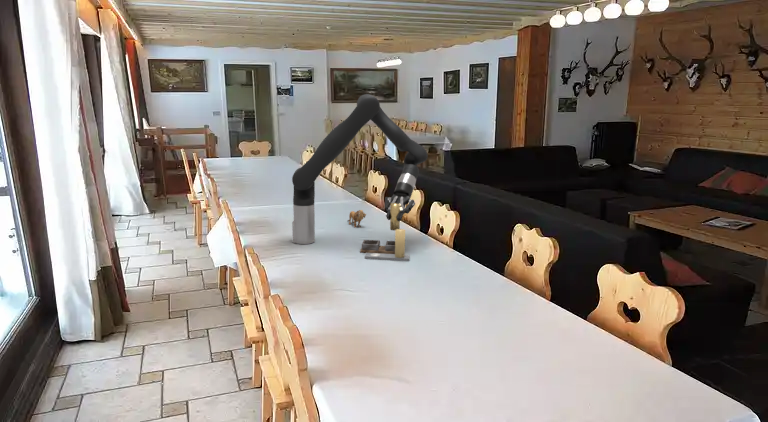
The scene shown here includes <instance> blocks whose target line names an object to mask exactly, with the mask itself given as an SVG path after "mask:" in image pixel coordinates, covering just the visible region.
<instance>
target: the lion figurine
mask: <svg viewBox="0 0 768 422" xmlns="http://www.w3.org/2000/svg"><path fill="white" fill-rule="evenodd" d="M348 216H349V219H348V220H347V222H349V223H348V225H352V224H353V223H354V225H353V226H354V228H357V226H358V227H359V228H360V227H361V222H362V220H363V219H364V218H366V216H367V213H365V212H364V210H363V209H359V210H357V211H353V210H351V211H350V212H349V215H348ZM357 222H358V223H357Z"/></svg>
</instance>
